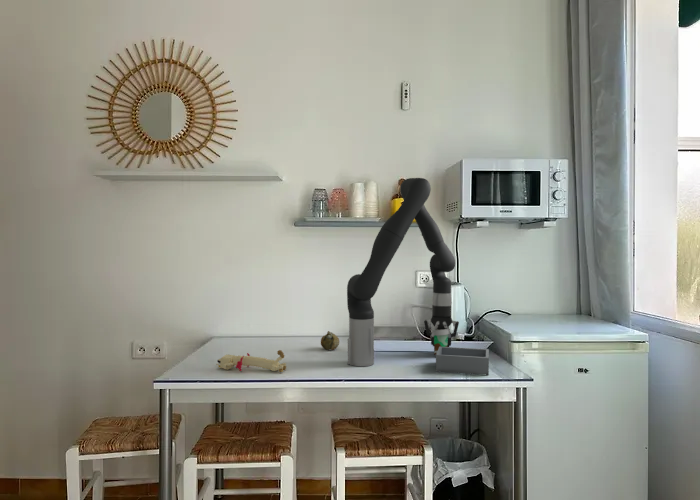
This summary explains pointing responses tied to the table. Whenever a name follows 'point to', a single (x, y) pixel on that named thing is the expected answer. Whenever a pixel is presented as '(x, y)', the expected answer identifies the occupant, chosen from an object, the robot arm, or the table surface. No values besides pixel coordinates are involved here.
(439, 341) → the food container
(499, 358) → the table surface
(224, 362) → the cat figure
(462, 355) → the grey bin
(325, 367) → the table surface
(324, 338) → the onion
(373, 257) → the robot arm
